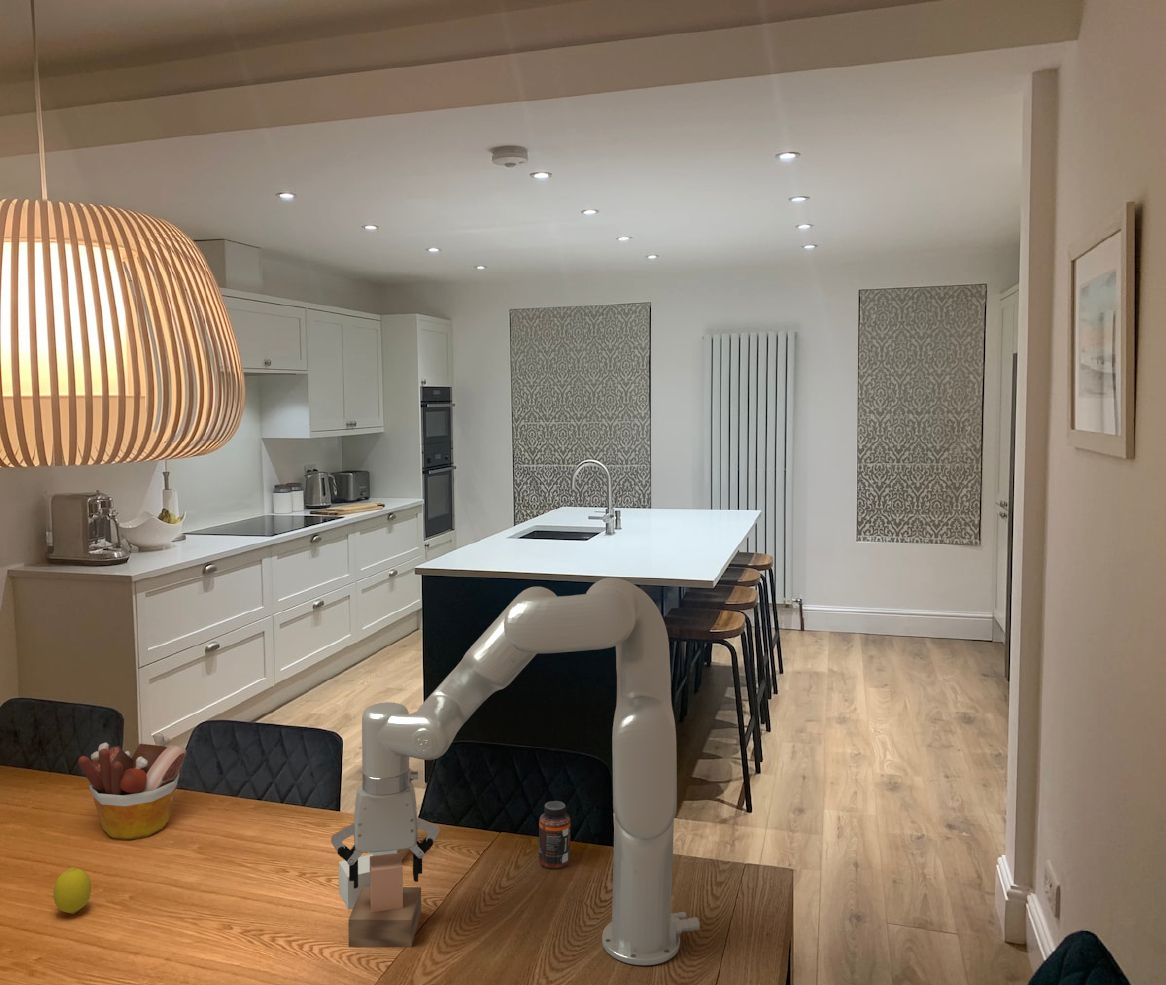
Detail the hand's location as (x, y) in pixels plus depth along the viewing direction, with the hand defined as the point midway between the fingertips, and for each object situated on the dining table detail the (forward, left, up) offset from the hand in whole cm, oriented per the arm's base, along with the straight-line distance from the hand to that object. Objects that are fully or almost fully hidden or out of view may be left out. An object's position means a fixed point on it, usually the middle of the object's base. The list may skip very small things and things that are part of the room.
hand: (385, 880), depth 150 cm
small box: (-2, -25, -9) cm, 27 cm away
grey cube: (+4, -11, -8) cm, 14 cm away
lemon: (+51, -16, -8) cm, 54 cm away
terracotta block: (0, 0, -4) cm, 4 cm away
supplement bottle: (-32, -16, -8) cm, 37 cm away
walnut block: (0, 0, -9) cm, 9 cm away
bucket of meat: (+48, -47, -8) cm, 68 cm away
